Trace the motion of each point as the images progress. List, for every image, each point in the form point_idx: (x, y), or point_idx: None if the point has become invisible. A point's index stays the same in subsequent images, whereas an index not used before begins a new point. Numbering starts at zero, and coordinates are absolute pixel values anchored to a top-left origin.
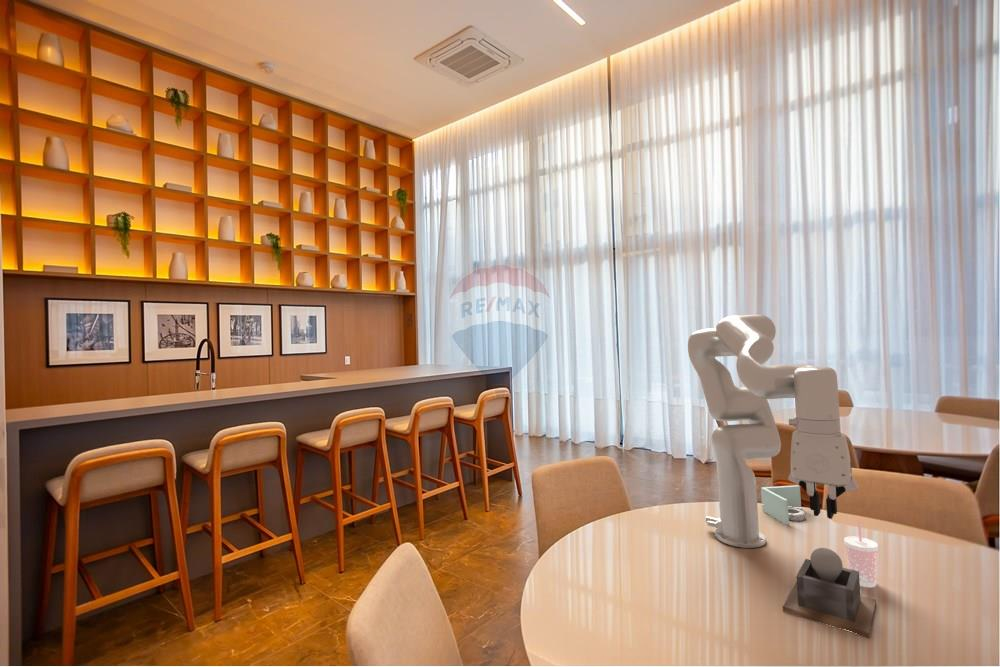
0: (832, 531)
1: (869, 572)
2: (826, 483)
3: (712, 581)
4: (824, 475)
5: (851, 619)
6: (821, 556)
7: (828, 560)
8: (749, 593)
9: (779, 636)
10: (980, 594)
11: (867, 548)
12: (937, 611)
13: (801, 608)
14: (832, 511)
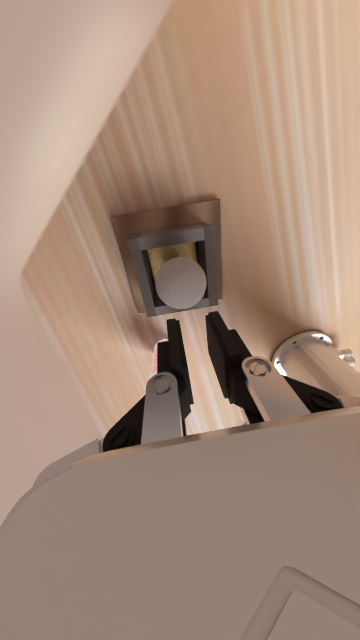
0: (218, 420)
1: (156, 353)
2: (180, 443)
3: (323, 211)
4: (209, 559)
5: (137, 233)
6: (184, 269)
7: (171, 268)
8: (268, 217)
9: (201, 98)
10: (86, 392)
11: (155, 374)
12: (94, 338)
13: (197, 215)
14: (167, 343)
